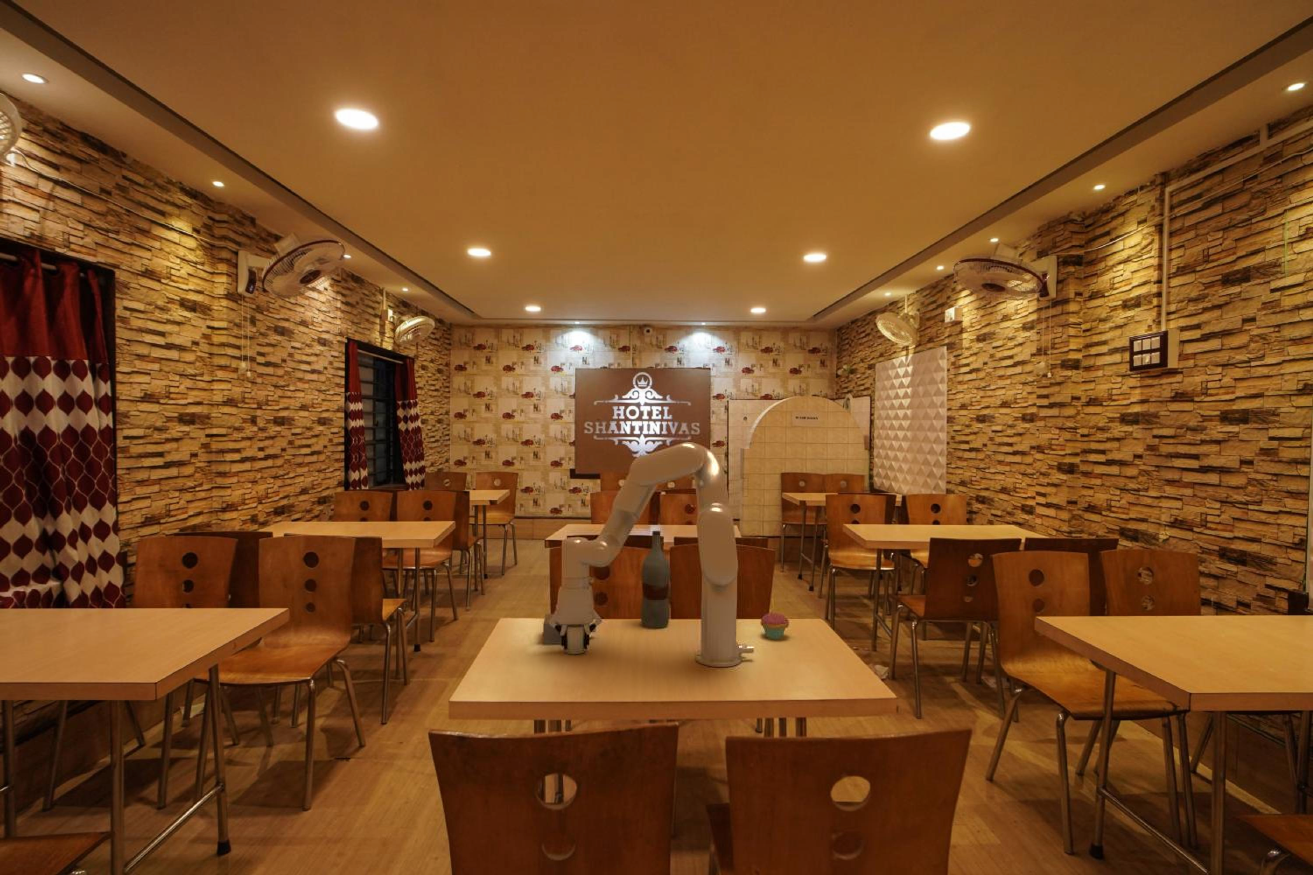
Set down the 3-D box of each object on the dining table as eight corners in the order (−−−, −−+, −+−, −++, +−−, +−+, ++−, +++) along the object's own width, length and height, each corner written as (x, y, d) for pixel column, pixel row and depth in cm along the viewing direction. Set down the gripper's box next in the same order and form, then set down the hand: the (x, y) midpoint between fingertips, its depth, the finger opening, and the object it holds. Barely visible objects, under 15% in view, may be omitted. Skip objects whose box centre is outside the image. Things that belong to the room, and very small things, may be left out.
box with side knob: (595, 630, 194) (595, 601, 194) (595, 643, 182) (596, 612, 182) (546, 631, 192) (546, 602, 192) (543, 644, 180) (543, 613, 180)
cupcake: (755, 633, 193) (756, 594, 193) (780, 631, 196) (780, 593, 196) (768, 642, 185) (769, 601, 185) (794, 640, 187) (794, 600, 187)
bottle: (637, 628, 197) (638, 532, 197) (644, 619, 206) (645, 528, 206) (666, 630, 195) (667, 534, 195) (672, 622, 204) (673, 529, 204)
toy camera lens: (584, 647, 177) (584, 619, 177) (584, 653, 172) (584, 625, 172) (566, 648, 176) (566, 620, 176) (565, 654, 171) (566, 625, 171)
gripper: (606, 578, 179) (605, 642, 179) (545, 580, 177) (545, 644, 177) (606, 584, 171) (606, 651, 171) (543, 586, 170) (543, 653, 169)
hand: (575, 647), depth 174 cm, fingers closed on toy camera lens, 5 cm apart
